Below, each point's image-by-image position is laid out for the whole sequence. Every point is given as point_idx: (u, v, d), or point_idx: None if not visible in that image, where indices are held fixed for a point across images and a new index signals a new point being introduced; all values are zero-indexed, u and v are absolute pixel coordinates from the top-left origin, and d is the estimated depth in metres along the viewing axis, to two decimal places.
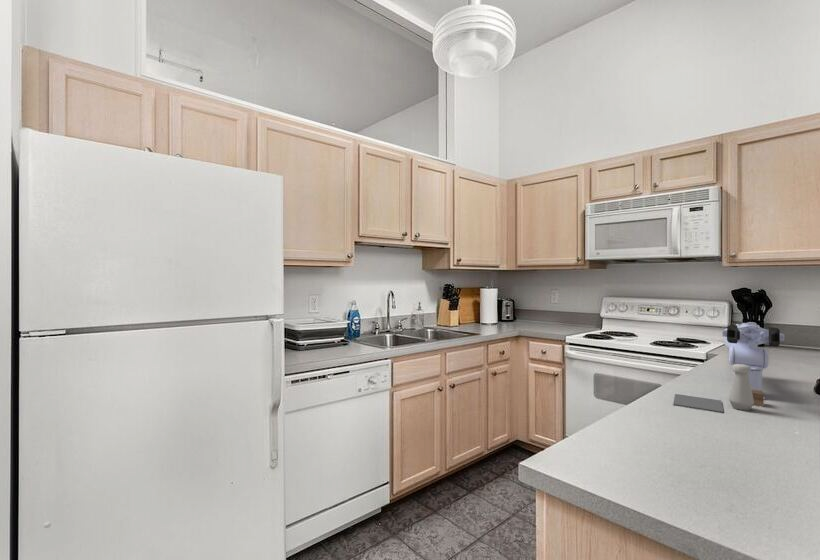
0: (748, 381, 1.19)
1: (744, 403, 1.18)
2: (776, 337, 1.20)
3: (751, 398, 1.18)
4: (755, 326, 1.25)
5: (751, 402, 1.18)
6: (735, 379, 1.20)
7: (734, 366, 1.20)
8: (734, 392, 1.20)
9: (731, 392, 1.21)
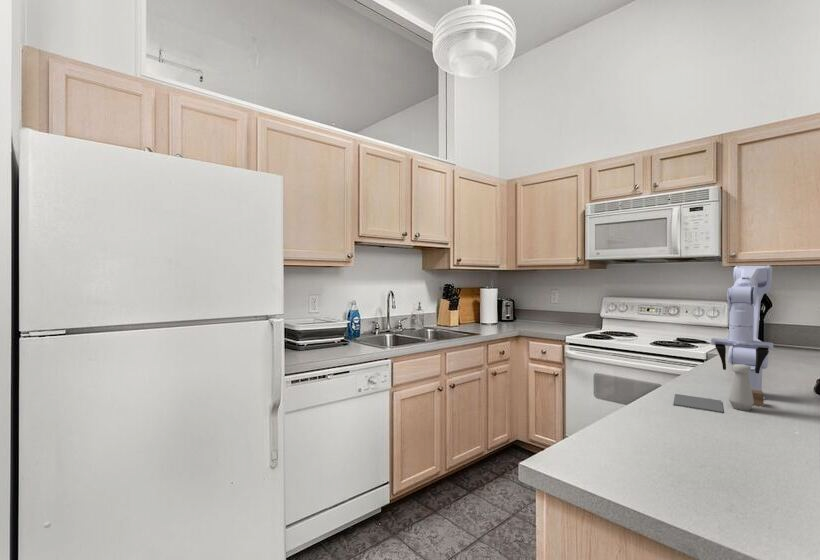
0: (748, 381, 1.19)
1: (744, 403, 1.18)
2: None
3: (751, 398, 1.18)
4: None
5: (751, 402, 1.18)
6: (735, 379, 1.20)
7: (734, 366, 1.20)
8: (734, 392, 1.20)
9: (731, 392, 1.21)
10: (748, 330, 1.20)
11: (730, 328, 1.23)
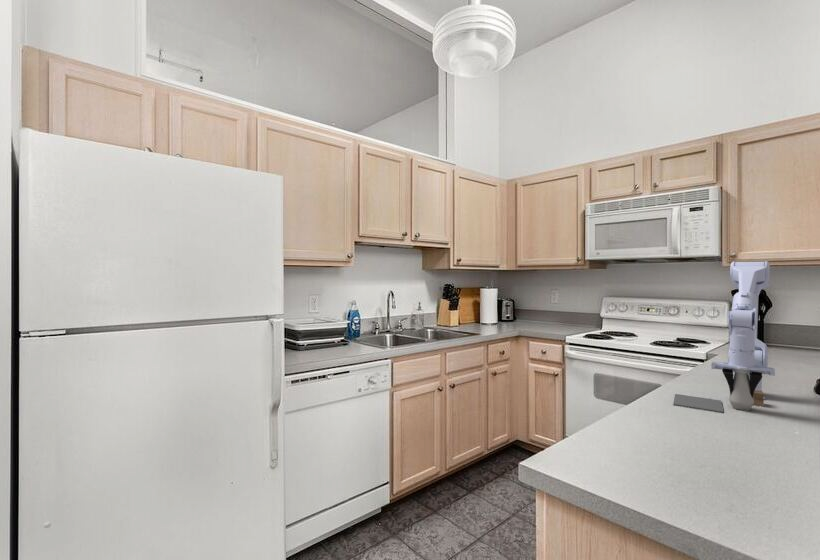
0: (748, 381, 1.19)
1: (744, 403, 1.18)
2: None
3: (751, 398, 1.18)
4: (746, 369, 1.18)
5: (751, 402, 1.18)
6: (735, 379, 1.20)
7: None
8: (734, 392, 1.20)
9: None
10: (749, 355, 1.17)
11: (730, 352, 1.21)
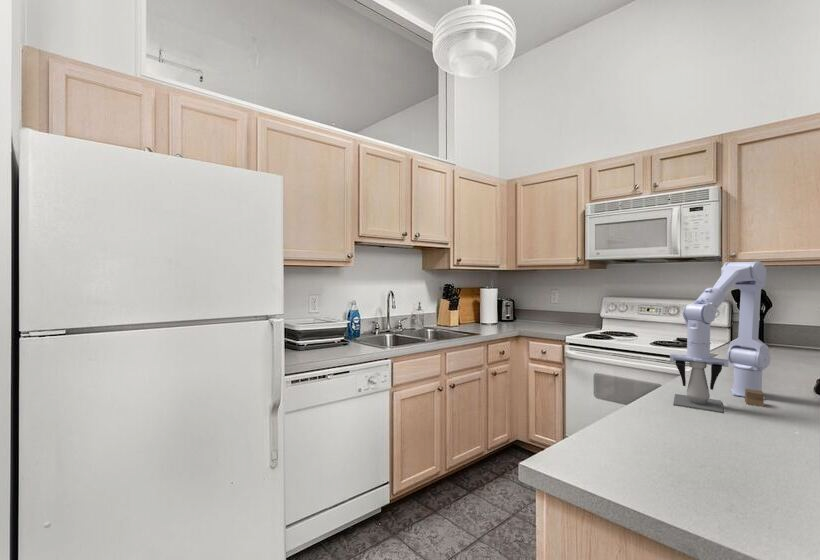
0: (704, 376, 1.23)
1: (700, 397, 1.22)
2: None
3: (707, 392, 1.22)
4: None
5: (707, 396, 1.22)
6: (692, 374, 1.24)
7: (691, 361, 1.25)
8: (691, 387, 1.24)
9: (688, 387, 1.25)
10: (704, 347, 1.22)
11: (688, 345, 1.25)
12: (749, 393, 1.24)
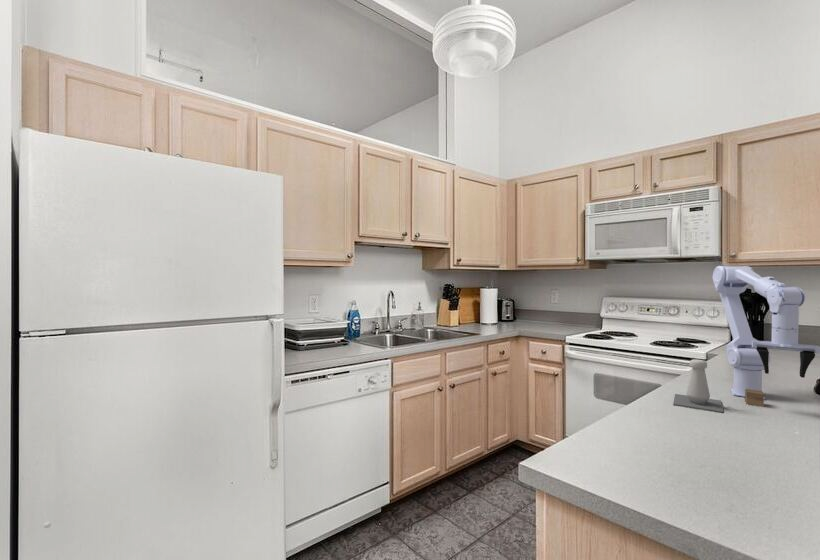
0: (704, 376, 1.23)
1: (700, 397, 1.22)
2: None
3: (707, 392, 1.22)
4: (790, 347, 1.16)
5: (707, 396, 1.22)
6: (692, 374, 1.24)
7: (691, 361, 1.24)
8: (691, 387, 1.24)
9: (688, 387, 1.25)
10: (793, 333, 1.16)
11: (773, 330, 1.19)
12: (749, 393, 1.24)
